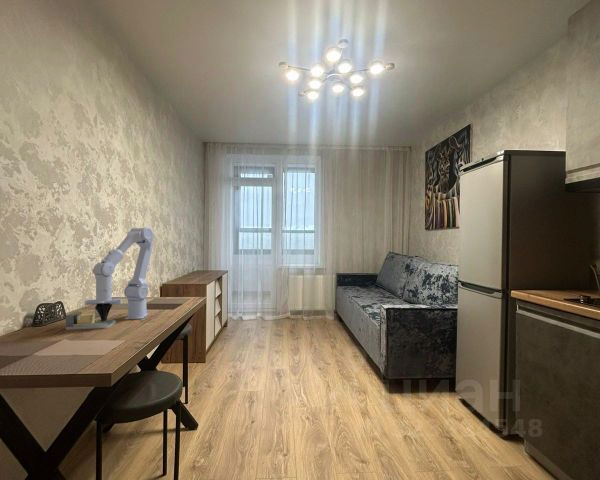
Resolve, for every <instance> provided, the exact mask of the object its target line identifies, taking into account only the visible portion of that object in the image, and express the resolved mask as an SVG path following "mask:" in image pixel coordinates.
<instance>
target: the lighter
mask: <svg viewBox="0 0 600 480" xmlns="http://www.w3.org/2000/svg"><path fill="white" fill-rule="evenodd" d="M94 313H95V318H97V317H100V315H99V313H98V311H97V310H96V308H95V307H94Z"/></svg>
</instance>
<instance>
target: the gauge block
mask: <svg viewBox="0 0 600 480" xmlns="http://www.w3.org/2000/svg"><path fill="white" fill-rule="evenodd" d="M95 320H96V317H95V312H93V313H81V315H79V316H77V324H84V323H95Z"/></svg>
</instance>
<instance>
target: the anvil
mask: <svg viewBox="0 0 600 480" xmlns="http://www.w3.org/2000/svg"><path fill="white" fill-rule="evenodd" d="M81 314H82V311H74V312H71V313H69V314H67V315H66V314H65V328H66V327H73V324H77V316H79V315H81Z"/></svg>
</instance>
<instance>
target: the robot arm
mask: <svg viewBox="0 0 600 480" xmlns="http://www.w3.org/2000/svg"><path fill="white" fill-rule="evenodd" d="M154 237H155V233H154V232H153V230H152V229H151V228H150V227H149V226H148V227H132V228H131V229H130V230H129V231H128V232H127V233H126V236H125V238H124V239H123V240H122V241H121V243H120V244H119V245H118V246H117V248H115V249H111V250H109V251H108V254H107V255H106V256H105V257H104V258H102V259H101V261H100V262H97V263H96V264H95V265H94V266H93V269H92V273H93V274H94V277H95V299H87V300H85V301H84V306H94V305H95V307H94V309H95V308H96V310H97V311H98V313H99V315H100V316H99V318H100V320H101V321H106V320H107V319H108V317H109V313H110V310H111V308H112V307H113V305H122V304H123V298H112V275H113V274H114V272H115V268H116V267H117V265H118V264H119V263H120V262H121V261H122V260H123V258H124V254H125V252H126V251H127V250H128V249H130V247H132V246H133V244H134V243H135V244H136V245H138V247H139V252H138V255H137V259H136V264H135V268H134V271H133V276H132V278H131V279H130V280H129V281H128V282H127V285H126V287H125V288H124V291H123V293H124V296H125V297H126V300H127V316H126V317H125V318H124V320H142V319H144V318H145V317H147V316H148V315H149V312H148V311H147V300H146V298H147V296H148V293H149V284H148V282H147V281H146V278H147V273H148V269H149V265H150V261H151V256H152V252H153V248H154V242H153V241H154Z"/></svg>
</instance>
